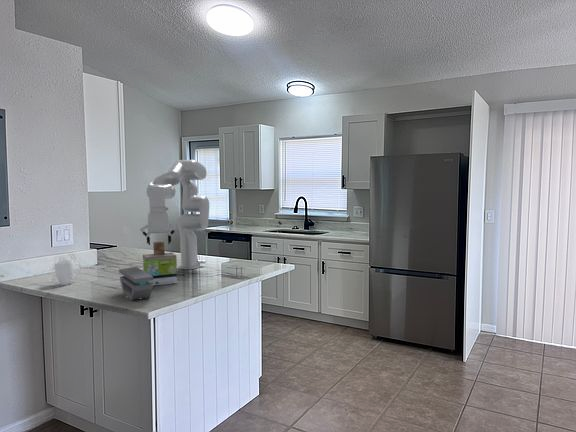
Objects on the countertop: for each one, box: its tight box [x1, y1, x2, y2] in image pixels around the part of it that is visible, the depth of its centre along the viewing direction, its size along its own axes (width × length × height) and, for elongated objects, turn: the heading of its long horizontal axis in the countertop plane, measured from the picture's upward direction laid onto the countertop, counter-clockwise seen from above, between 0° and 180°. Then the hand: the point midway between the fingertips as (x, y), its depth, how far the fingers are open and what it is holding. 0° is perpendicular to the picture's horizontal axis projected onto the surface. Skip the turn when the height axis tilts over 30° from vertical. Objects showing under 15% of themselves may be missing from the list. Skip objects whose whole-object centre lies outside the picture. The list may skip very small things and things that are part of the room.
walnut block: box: [153, 241, 166, 256], centre depth 222 cm, size 5×5×6 cm
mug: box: [54, 260, 82, 286], centre depth 224 cm, size 12×8×11 cm
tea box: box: [142, 252, 178, 286], centre depth 223 cm, size 15×10×15 cm, turn 117°
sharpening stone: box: [118, 266, 154, 301], centre depth 199 cm, size 25×8×11 cm, turn 35°
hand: (159, 244), depth 222 cm, fingers open, 9 cm apart
